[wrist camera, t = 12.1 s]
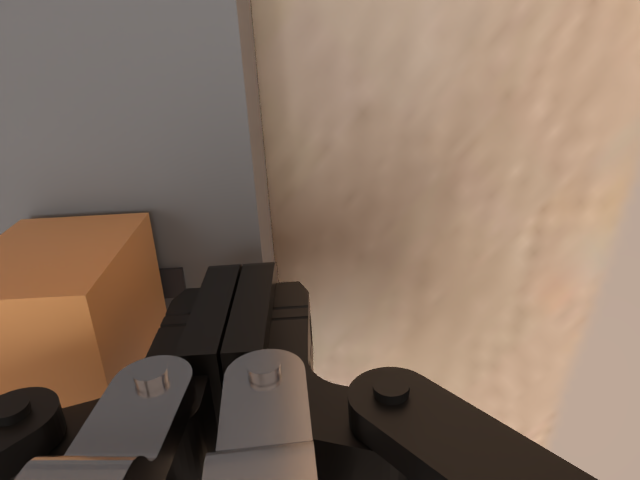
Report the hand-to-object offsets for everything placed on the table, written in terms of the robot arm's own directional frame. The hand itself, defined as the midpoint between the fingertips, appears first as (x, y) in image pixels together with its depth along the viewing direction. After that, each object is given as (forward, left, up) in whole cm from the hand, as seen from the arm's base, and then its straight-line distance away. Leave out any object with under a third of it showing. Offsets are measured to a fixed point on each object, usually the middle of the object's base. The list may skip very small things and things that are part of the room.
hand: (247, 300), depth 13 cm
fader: (0, -4, -1) cm, 4 cm away
